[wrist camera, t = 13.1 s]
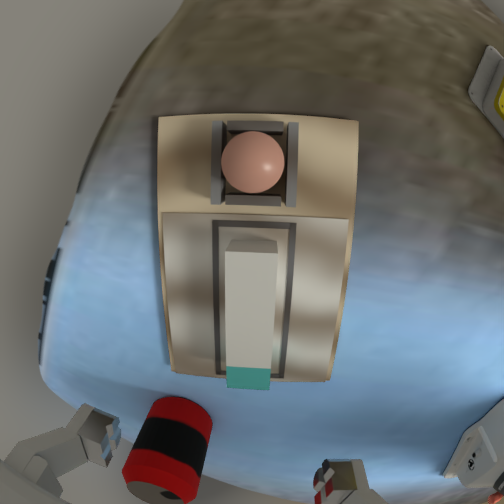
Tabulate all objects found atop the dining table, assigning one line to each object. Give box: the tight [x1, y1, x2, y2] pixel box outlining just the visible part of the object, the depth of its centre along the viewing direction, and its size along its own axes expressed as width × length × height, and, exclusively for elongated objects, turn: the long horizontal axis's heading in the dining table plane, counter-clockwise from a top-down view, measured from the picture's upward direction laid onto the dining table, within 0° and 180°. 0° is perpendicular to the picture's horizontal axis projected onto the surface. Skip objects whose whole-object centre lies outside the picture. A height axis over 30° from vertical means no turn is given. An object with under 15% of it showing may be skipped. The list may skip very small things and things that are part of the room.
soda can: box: [122, 397, 212, 504], centre depth 25 cm, size 8×8×12 cm
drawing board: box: [157, 114, 358, 382], centre depth 24 cm, size 24×16×3 cm, turn 179°
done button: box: [221, 131, 284, 193], centre depth 20 cm, size 4×4×3 cm
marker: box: [225, 240, 278, 390], centre depth 24 cm, size 4×12×4 cm, turn 179°
